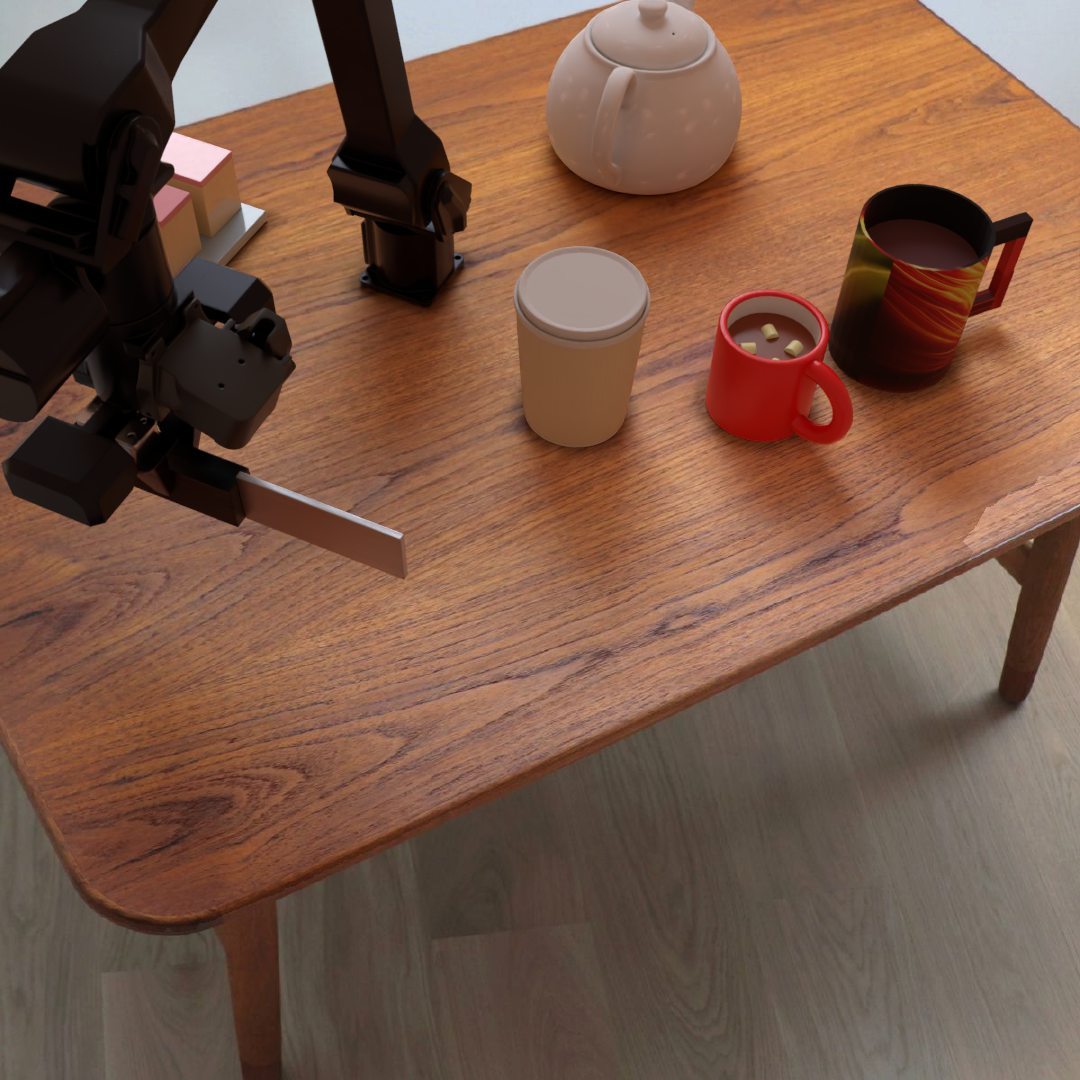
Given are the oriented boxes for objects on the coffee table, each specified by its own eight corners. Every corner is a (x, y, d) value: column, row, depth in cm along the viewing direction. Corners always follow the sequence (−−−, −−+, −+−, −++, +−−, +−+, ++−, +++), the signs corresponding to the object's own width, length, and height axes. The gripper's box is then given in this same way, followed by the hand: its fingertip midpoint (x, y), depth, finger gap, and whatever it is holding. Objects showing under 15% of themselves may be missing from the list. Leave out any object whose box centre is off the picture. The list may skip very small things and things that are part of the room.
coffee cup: (652, 383, 104) (667, 261, 94) (616, 470, 98) (628, 350, 89) (536, 353, 105) (540, 229, 96) (494, 437, 100) (494, 315, 90)
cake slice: (202, 248, 110) (190, 192, 106) (174, 278, 108) (160, 222, 104) (120, 220, 112) (104, 163, 108) (91, 248, 110) (73, 192, 106)
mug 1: (806, 490, 97) (827, 415, 91) (683, 400, 103) (695, 322, 96) (874, 435, 101) (899, 359, 95) (752, 350, 106) (768, 273, 100)
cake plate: (267, 220, 114) (256, 154, 109) (186, 307, 107) (170, 242, 102) (147, 179, 117) (131, 113, 112) (61, 262, 110) (39, 196, 105)
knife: (415, 564, 82) (411, 523, 79) (397, 591, 81) (393, 550, 77) (122, 450, 87) (107, 407, 84) (101, 474, 86) (86, 431, 82)
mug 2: (998, 315, 109) (1046, 193, 100) (913, 411, 102) (956, 290, 93) (893, 263, 113) (929, 140, 103) (804, 353, 106) (834, 230, 97)
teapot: (501, 112, 124) (502, -29, 113) (679, 67, 129) (695, -72, 119) (592, 235, 114) (602, 93, 103) (780, 180, 119) (808, 40, 108)
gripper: (145, 459, 65) (203, 639, 77) (340, 227, 75) (363, 418, 87) (-45, 386, 67) (41, 571, 80) (169, 171, 78) (215, 364, 90)
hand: (175, 477), depth 84 cm, fingers closed on knife, 2 cm apart
